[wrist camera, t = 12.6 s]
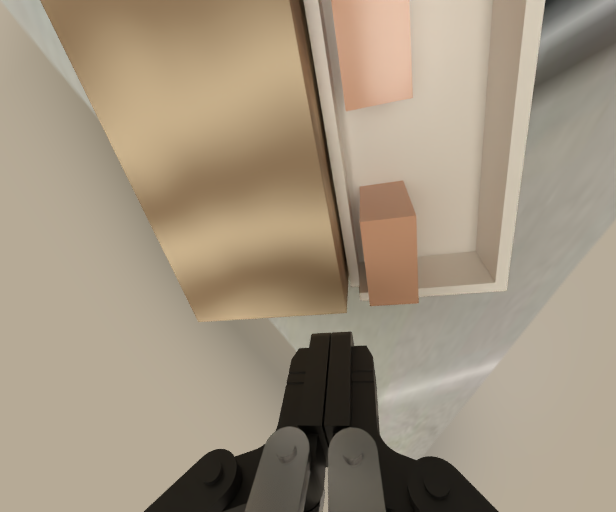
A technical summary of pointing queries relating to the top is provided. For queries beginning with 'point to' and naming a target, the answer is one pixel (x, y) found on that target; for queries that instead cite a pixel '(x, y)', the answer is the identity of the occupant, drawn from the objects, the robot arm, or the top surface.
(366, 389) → the robot arm
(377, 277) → the tile outer
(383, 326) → the top surface
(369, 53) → the tile inner
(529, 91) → the bin
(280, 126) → the platform
